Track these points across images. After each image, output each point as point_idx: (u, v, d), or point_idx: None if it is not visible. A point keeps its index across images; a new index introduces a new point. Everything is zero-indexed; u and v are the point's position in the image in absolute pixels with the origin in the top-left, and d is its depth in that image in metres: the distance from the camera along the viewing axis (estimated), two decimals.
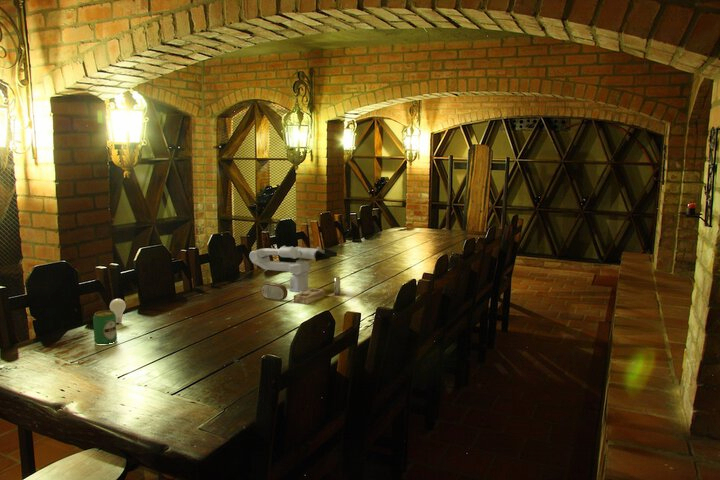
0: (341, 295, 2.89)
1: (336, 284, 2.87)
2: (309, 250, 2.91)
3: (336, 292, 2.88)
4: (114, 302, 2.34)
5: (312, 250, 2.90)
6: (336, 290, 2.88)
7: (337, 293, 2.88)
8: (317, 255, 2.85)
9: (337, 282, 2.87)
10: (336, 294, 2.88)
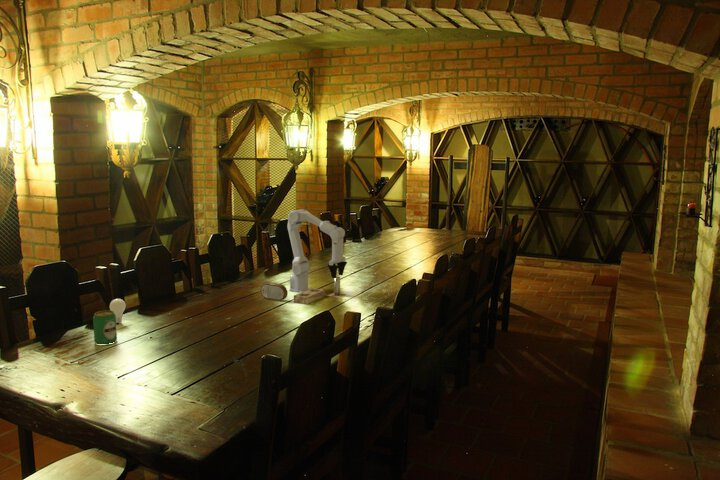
0: (341, 295, 2.89)
1: (336, 284, 2.87)
2: (339, 252, 2.83)
3: (336, 292, 2.88)
4: (114, 302, 2.34)
5: (339, 256, 2.83)
6: (336, 290, 2.88)
7: (337, 293, 2.88)
8: None
9: (337, 282, 2.87)
10: (336, 294, 2.88)
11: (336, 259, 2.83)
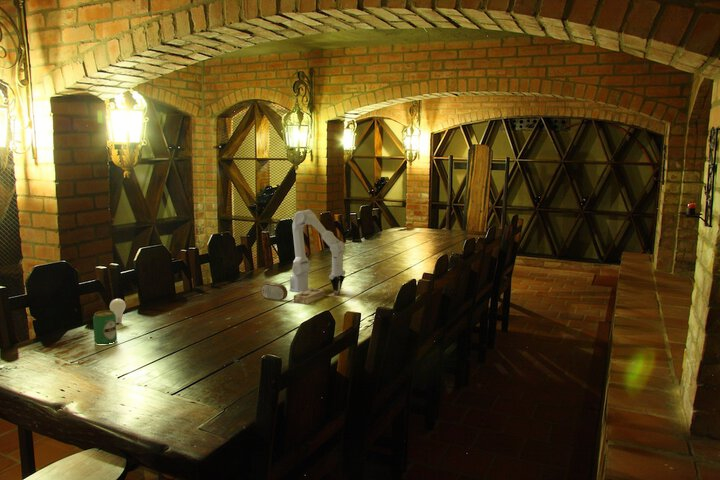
0: (341, 295, 2.89)
1: None
2: (339, 266, 2.84)
3: (336, 292, 2.88)
4: (114, 302, 2.34)
5: (339, 270, 2.85)
6: None
7: (337, 293, 2.88)
8: None
9: None
10: (336, 294, 2.88)
11: (336, 273, 2.85)
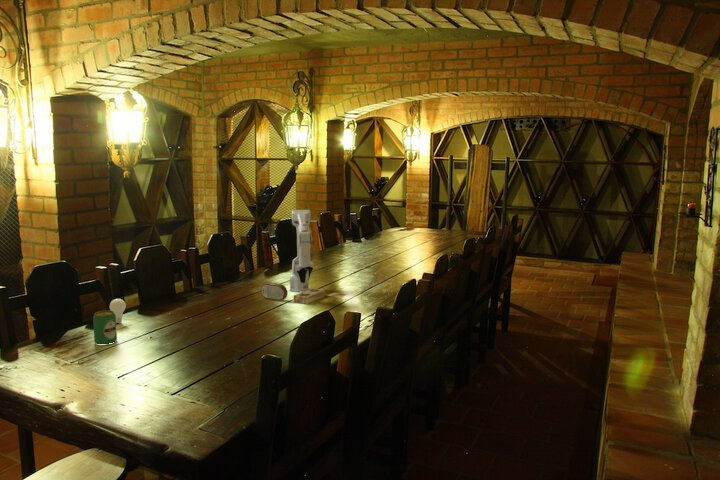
0: (341, 295, 2.89)
1: None
2: (306, 257, 2.71)
3: (305, 285, 2.74)
4: (114, 302, 2.34)
5: (306, 261, 2.71)
6: (305, 283, 2.74)
7: (306, 286, 2.74)
8: (302, 270, 2.72)
9: (306, 274, 2.73)
10: (305, 287, 2.74)
11: (303, 264, 2.71)
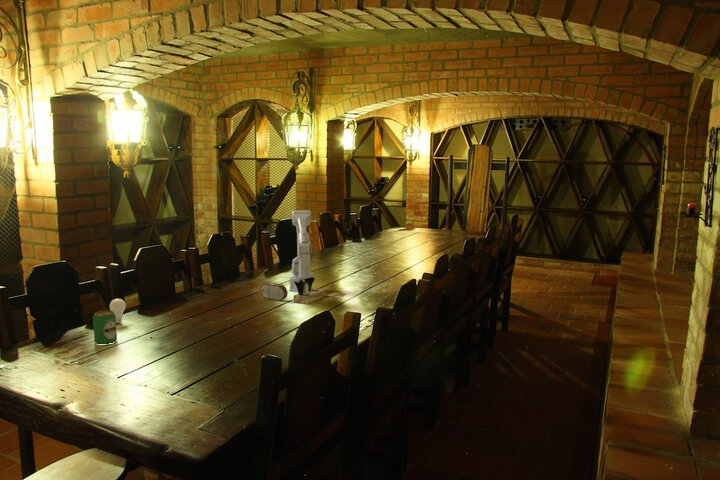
0: (341, 295, 2.89)
1: (305, 290, 2.75)
2: (306, 268, 2.72)
3: None
4: (114, 302, 2.34)
5: (306, 273, 2.72)
6: None
7: None
8: (299, 282, 2.71)
9: (306, 288, 2.75)
10: None
11: (303, 275, 2.72)
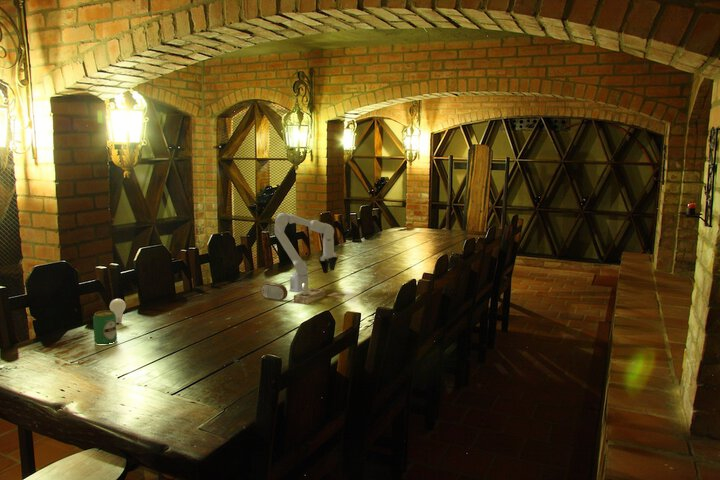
0: (341, 295, 2.89)
1: (305, 290, 2.75)
2: (330, 248, 2.95)
3: None
4: (114, 302, 2.34)
5: (330, 252, 2.95)
6: None
7: None
8: (324, 261, 2.93)
9: (306, 288, 2.75)
10: None
11: (327, 255, 2.95)
